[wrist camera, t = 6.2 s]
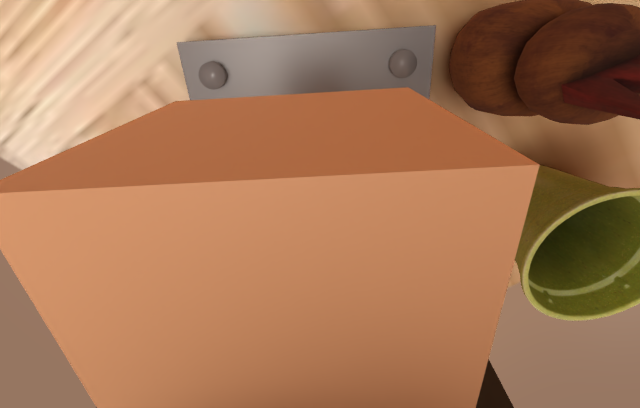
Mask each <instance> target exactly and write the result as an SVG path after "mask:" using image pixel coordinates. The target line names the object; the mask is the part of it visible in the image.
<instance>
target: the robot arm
mask: <svg viewBox="0 0 640 408" xmlns="http://www.w3.org/2000/svg"><path fill="white" fill-rule="evenodd" d="M96 408H97V407H96ZM476 408H514V407H513V405H512V403H511V401H510V399H509V398H508V396H507V394H506V392H505V390H504V388H503V386H502V384H501V382H500V380H499V378H498V377H497V374H496V373H495V371H494V369H493V367H492V365H491V363H490V361H489V359H488V363H487V366H486V370H485V374H484V378H483V382H482V385H481V389H480V393H479V397H478V401H477V404H476Z"/></svg>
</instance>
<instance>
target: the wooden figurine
mask: <svg viewBox="0 0 640 408" xmlns="http://www.w3.org/2000/svg"><path fill="white" fill-rule="evenodd" d="M449 71H450V75H451V79H452V82H453V86H454V89H455V91H456V92H457V93H458V94H459V95H460V96H461V97H462V98H463V99H464V101H465V102H466V103H467V104H468V105H469V106H470V107H471V108H473V109H475V110H478V111H483V112H488V113H492V114H497V115H502V116H535V115H541V116H543V117H545V118H548V119H550V120H553V121H556V122H560V123H569V124H588V125H589V124H593V123H597V122H601V121H605V120H608V119H611V118H613V117H616V116H618V115H622V116H627V117H631V118H636V119H640V8H639V7H636V6H633V5H625V4H614V3H607V4H595V5H592V4H590V3H588V2H583V1H579V0H523V1H517V2H511V3H506V4H501V5H498V6H495V7H492V8H489V9H486V10H483V11H480V12H478V13H477V14H476V15H474V16H473V17H472V18H471V19H470V21H469V22H468V23H467V24H466V25H465V26H464V27H463V29H462V30H461V31H460V32H459V33H458V35H457V37H456V40H455V43H454V46H453V48H452V51H451V55H450V65H449Z"/></svg>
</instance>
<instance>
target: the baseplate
mask: <svg viewBox="0 0 640 408" xmlns="http://www.w3.org/2000/svg"><path fill="white" fill-rule="evenodd" d="M435 31H436V25H433V26H418V27H403V28H388V29H373V30H358V31H342V32H327V33H312V34H297V35H282V36H267V37H252V38H237V39H222V40H207V41H192V42H177V46H178V50H179V55H180V59H181V63H182V68H183V72H184V76H185V81H186V85H187V89H188V93H189V98H190V100H205V99H222V98H238V97H255V96H272V95H288V94H305V93H322V92H339V91H355V90H372V89H389V88H406V87H408V88H410V89H412V90H414V91H415V92H417V93H419V94H420V95H422V96H424V97H425V98H427V99H429V97H430V86H431V75H432V64H433V53H434V42H435Z"/></svg>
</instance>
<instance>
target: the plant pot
mask: <svg viewBox="0 0 640 408" xmlns="http://www.w3.org/2000/svg"><path fill="white" fill-rule="evenodd" d="M515 261H516V263H517V265H518V269H519V273H520V279H521V285H522V289H523V292H524V294H525V296H526V297H527V299H528V300H529V301H530V303H531V304H532V305H533V306H534V307H535V308H536V309H537V310H539V311H540V312H542V313H544V314H546V315H548V316H551V317H554V318H558V319H562V320H591V319H597V318H602V317H605V316H610V315H613V314H616V313H619V312H622V311H624V310H626V309H628V308H631V307H633V306H635V305H637V304H639V303H640V188H630V189H625V188H619V187H608V186H605V185H602V184H599V183H596V182H592V181H589V180H586V179H583V178H580V177H577V176H574V175H571V174H568V173H565V172H562V171H559V170H556V169H553V168H550V167H547V166H542V165H540V166H539V169H538V173H537V177H536V181H535V185H534V188H533V192H532V196H531V200H530V203H529V207H528V211H527V215H526V219H525V222H524V226H523V230H522V234H521V238H520V241H519V245H518V249H517V253H516V257H515Z"/></svg>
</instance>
